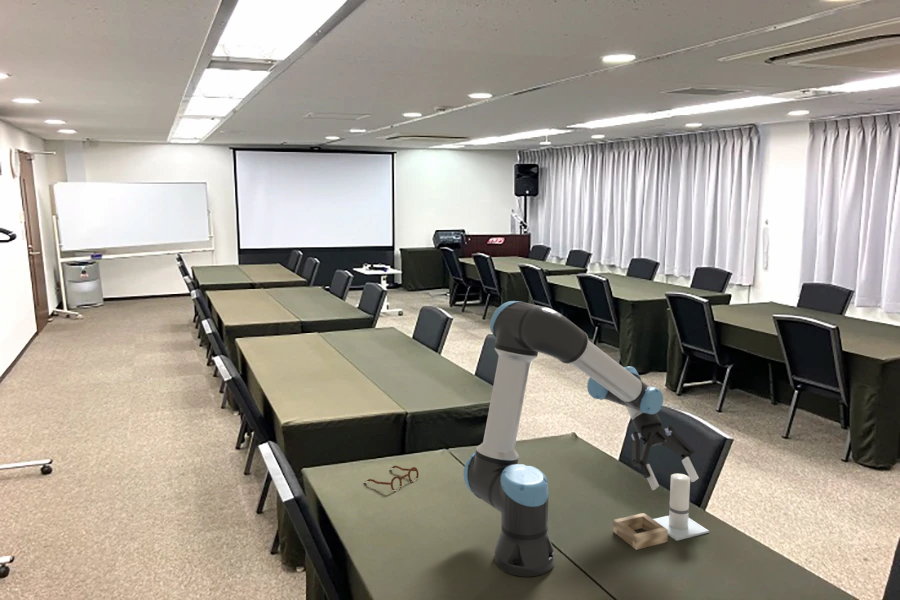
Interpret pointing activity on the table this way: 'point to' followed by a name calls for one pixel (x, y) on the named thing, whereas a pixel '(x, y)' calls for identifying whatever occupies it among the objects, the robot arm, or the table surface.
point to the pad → (678, 534)
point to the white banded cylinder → (679, 501)
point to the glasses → (398, 476)
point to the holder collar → (644, 539)
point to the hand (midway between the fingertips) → (675, 484)
